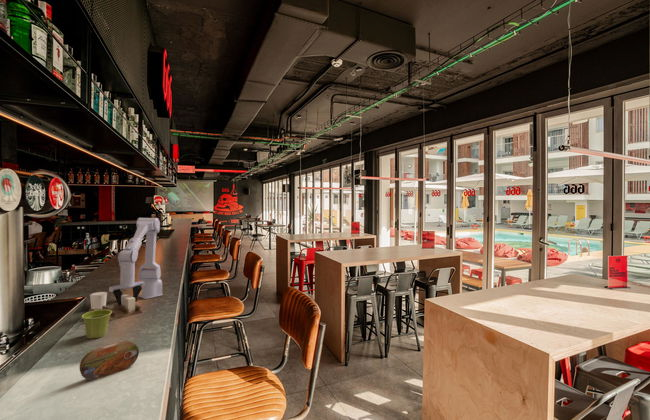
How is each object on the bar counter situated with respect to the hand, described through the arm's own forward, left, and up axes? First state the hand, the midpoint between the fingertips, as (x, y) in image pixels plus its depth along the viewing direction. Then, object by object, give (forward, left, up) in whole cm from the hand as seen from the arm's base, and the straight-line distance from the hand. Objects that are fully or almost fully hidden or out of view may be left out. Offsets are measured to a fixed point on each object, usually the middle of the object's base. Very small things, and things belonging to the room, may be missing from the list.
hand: (127, 303), depth 145 cm
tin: (+26, +53, -4) cm, 59 cm away
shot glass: (+6, -16, -4) cm, 18 cm away
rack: (+5, 0, -4) cm, 6 cm away
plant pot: (+18, +20, -4) cm, 28 cm away
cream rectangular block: (0, 0, -3) cm, 3 cm away
